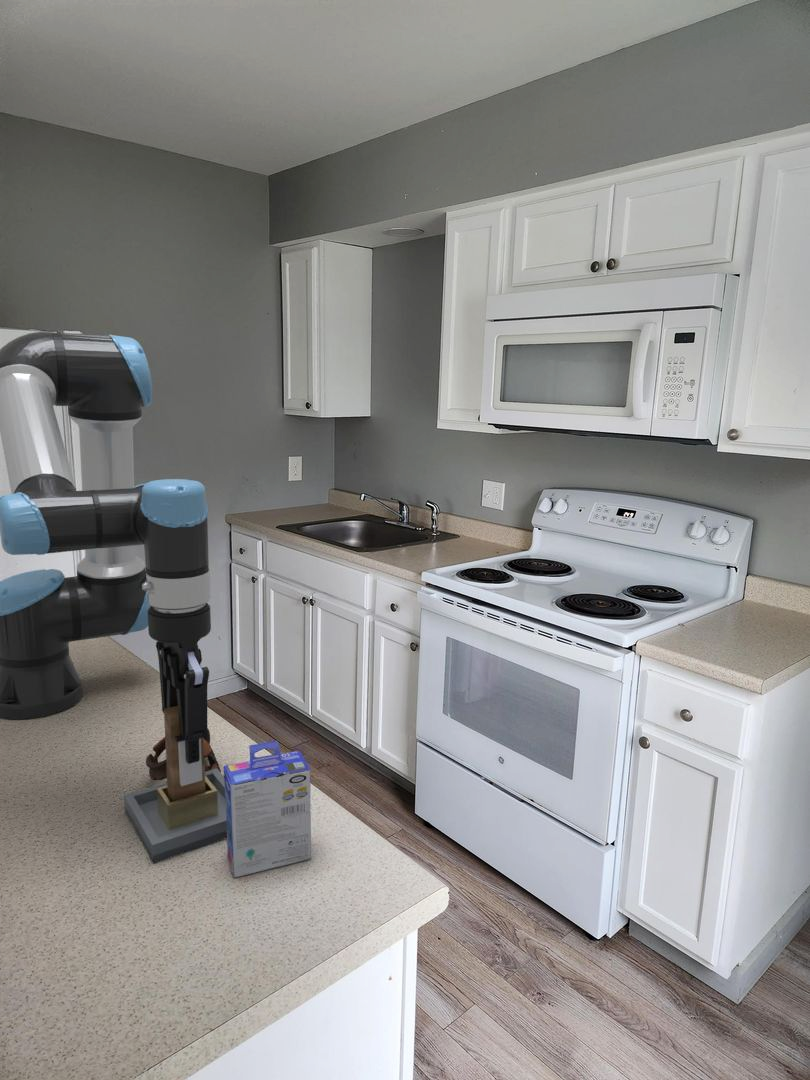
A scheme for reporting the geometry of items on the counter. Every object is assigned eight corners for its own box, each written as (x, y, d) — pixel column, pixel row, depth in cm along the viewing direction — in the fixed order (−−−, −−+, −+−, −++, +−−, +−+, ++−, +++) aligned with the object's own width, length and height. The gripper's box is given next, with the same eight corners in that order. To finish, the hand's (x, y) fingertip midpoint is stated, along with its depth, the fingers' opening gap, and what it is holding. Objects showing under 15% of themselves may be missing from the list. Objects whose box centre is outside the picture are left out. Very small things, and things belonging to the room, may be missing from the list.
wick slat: (168, 813, 97) (163, 709, 94) (199, 803, 99) (195, 701, 96) (174, 823, 95) (170, 716, 92) (206, 813, 97) (202, 709, 94)
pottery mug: (216, 799, 103) (183, 758, 100) (162, 818, 106) (128, 779, 102) (238, 740, 114) (209, 702, 111) (188, 758, 116) (158, 721, 113)
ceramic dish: (124, 811, 99) (123, 795, 98) (217, 784, 106) (216, 768, 106) (153, 863, 88) (152, 845, 88) (253, 828, 96) (253, 811, 95)
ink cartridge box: (301, 834, 95) (300, 731, 92) (314, 859, 90) (313, 752, 87) (224, 852, 91) (221, 745, 88) (233, 880, 86) (230, 767, 83)
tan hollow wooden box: (157, 812, 97) (156, 788, 96) (205, 797, 101) (204, 774, 100) (169, 830, 93) (168, 805, 93) (218, 814, 97) (217, 790, 96)
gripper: (130, 593, 95) (139, 757, 100) (169, 627, 82) (177, 814, 87) (187, 585, 100) (193, 743, 104) (232, 616, 87) (237, 795, 92)
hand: (186, 775), depth 96 cm, fingers open, 3 cm apart
